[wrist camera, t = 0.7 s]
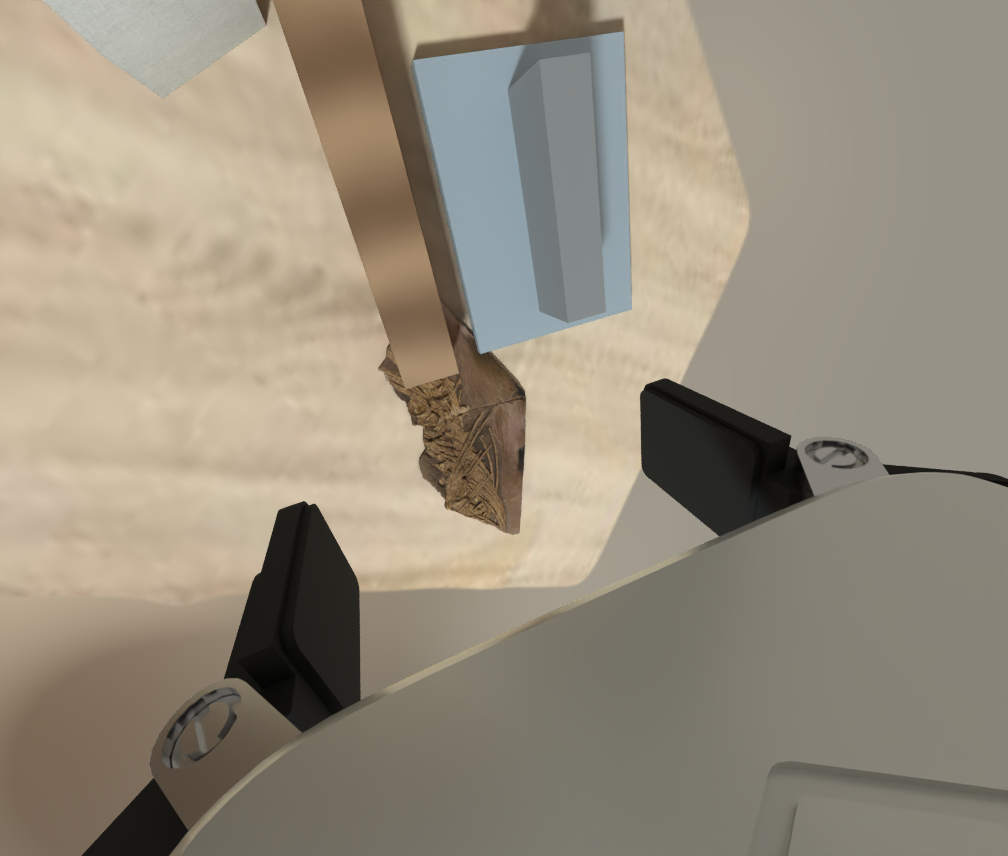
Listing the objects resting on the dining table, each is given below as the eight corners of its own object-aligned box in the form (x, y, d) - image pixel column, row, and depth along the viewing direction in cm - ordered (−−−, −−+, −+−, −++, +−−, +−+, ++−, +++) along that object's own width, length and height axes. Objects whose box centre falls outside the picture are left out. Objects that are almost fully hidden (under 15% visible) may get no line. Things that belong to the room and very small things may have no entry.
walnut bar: (268, -14, 21) (251, -63, 17) (345, -21, 22) (343, -69, 18) (400, 372, 31) (405, 389, 28) (448, 358, 32) (459, 373, 29)
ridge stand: (411, 66, 24) (426, 19, 19) (615, 37, 26) (677, -10, 21) (477, 350, 32) (499, 372, 27) (625, 307, 35) (670, 319, 30)
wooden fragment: (357, 317, 29) (358, 320, 28) (496, 276, 31) (500, 277, 30) (456, 556, 42) (458, 563, 41) (550, 516, 44) (554, 522, 43)
